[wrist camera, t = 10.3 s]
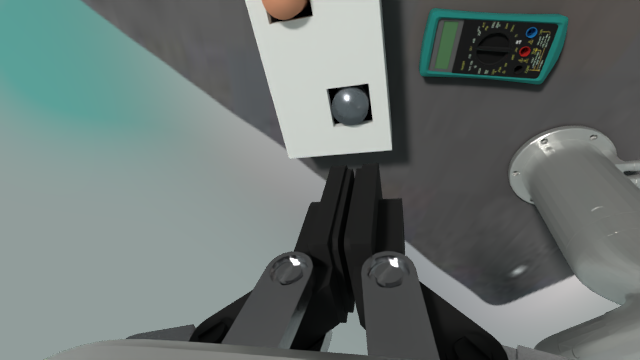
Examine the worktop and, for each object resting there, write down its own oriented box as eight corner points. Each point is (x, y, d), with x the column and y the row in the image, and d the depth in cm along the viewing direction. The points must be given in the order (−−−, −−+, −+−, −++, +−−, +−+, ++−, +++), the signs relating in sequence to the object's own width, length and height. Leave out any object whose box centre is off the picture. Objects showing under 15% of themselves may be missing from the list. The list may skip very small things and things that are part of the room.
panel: (372, -103, 34) (369, -112, 29) (392, 129, 48) (392, 150, 43) (247, -69, 37) (225, -72, 32) (298, 138, 51) (289, 158, 46)
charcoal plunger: (368, 73, 43) (365, 88, 38) (372, 106, 45) (370, 123, 40) (334, 78, 44) (328, 93, 39) (340, 109, 46) (334, 126, 42)
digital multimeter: (539, 79, 41) (549, 87, 38) (416, 70, 43) (418, 77, 40) (566, 13, 37) (578, 17, 34) (428, 7, 39) (430, 10, 36)
